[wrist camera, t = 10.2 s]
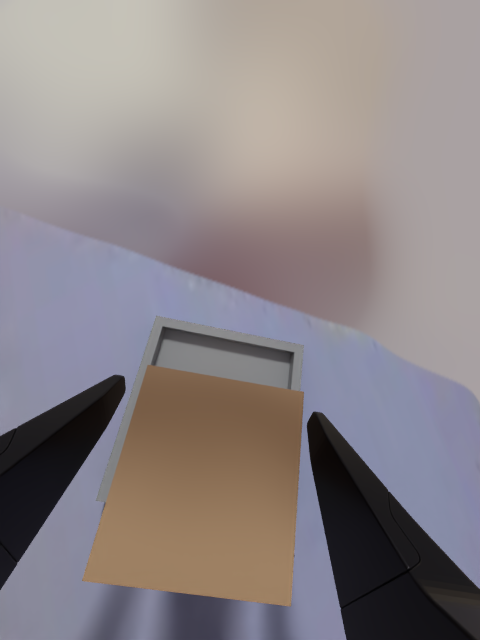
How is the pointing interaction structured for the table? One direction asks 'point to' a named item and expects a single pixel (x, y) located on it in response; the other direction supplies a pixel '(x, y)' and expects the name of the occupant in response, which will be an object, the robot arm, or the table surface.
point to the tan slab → (204, 490)
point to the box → (209, 365)
